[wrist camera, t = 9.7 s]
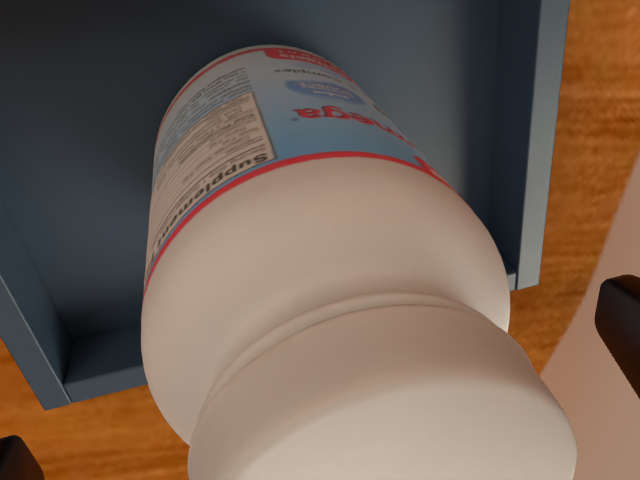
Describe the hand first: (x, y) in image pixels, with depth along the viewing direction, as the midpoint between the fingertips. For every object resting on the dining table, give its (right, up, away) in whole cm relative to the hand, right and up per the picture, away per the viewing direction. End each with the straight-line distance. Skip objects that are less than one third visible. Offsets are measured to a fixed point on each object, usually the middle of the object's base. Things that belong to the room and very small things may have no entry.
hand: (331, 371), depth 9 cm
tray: (-2, +5, +8) cm, 10 cm away
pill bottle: (-2, +5, +7) cm, 9 cm away
